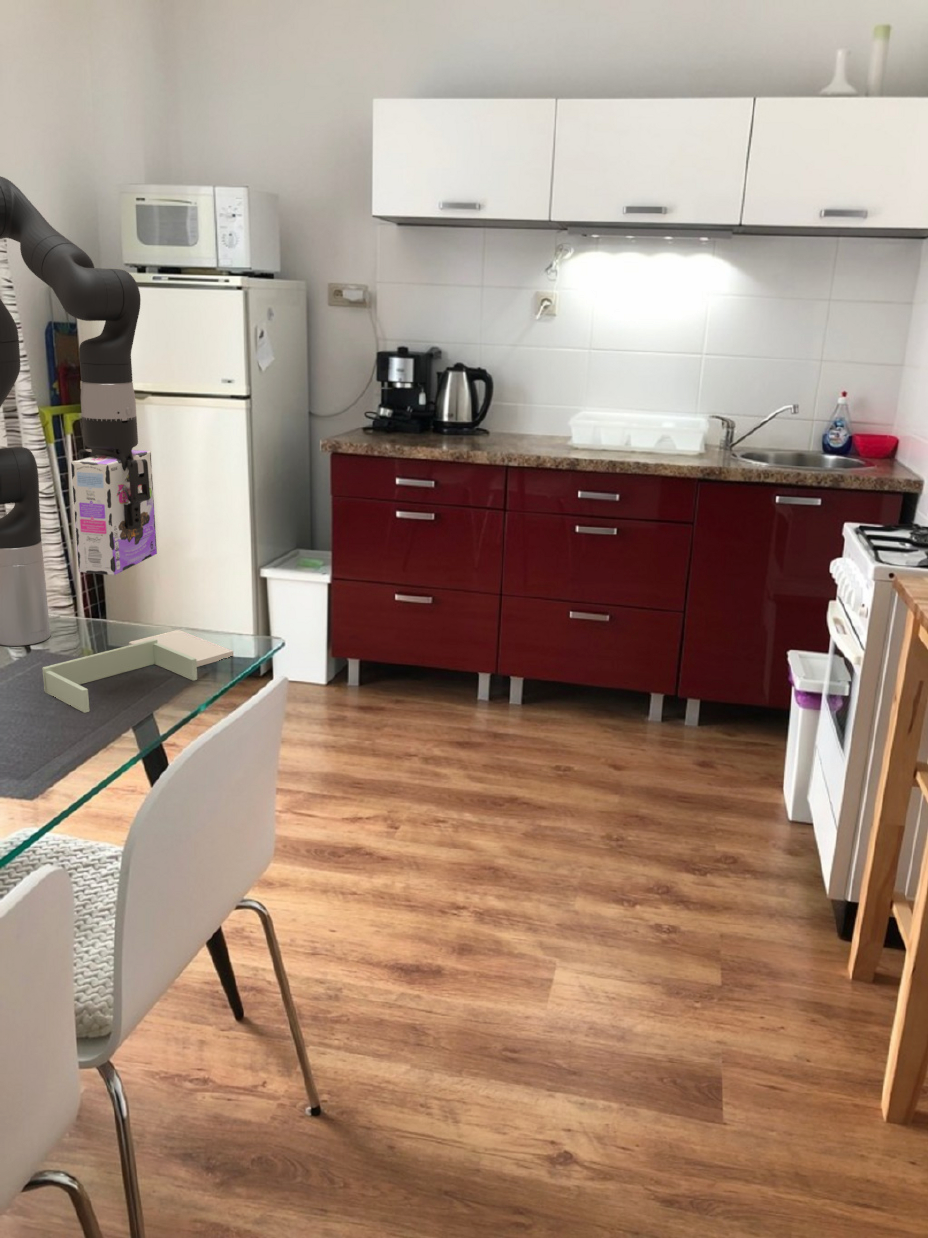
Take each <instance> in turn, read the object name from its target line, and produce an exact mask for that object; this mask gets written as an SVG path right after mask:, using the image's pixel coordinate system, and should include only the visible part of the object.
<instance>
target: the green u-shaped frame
mask: <svg viewBox="0 0 928 1238" xmlns="http://www.w3.org/2000/svg"><path fill="white" fill-rule="evenodd" d="M152 665H156V666H158V667H161V668H162V669H166V670H168V671H170V672H172V673H175V674H177V675H178V676H182V677H184V678H187V679H188V680H191V681H197V680H198V670H197V669H198V667H197V662H196V659H195V658H193V657H191V656H188V655H186V654H183V653H181V652H178V651H176V650H174V649H171V648H169V647H166V646H164V645H161V644H159V643H158V642H157V640H156V639H152V640H148V641H145V642H141V643H137V644H133V645H129V644H128V645H126V646H125V645H124V646H122V647H118V648H114V649H111V650H106V651H101V652H98V653H94V654H91V655H85V656H83V657H78V658H75V659H74V658H73V659H71V660H67V661H63V662H58V663H55V664H51V665H47V666H43V667H42V677H43V687H44V688H43V689H44V693H46V694H48V695H50V696H52V697H53V696H54V698H55V697H56V700H59V701H62V702H63V703H65V704H66V705H69V706H70V705H71V707H72V708H75V709H76V710H78V711H80V712H82V713H83V714H85V713H89V712H91V710H90V700H89V699H90V698H89V689H88V688H86V687H84V686H82V684H86V683H90V682H93V681H98V680H101V679H104V678H105V679H106V678H108V677H112V676H116V675H119V674H124V673H126V672H130V671H135V670H138V669H141V668H145V667H148V666H152Z"/></svg>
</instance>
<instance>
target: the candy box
mask: <svg viewBox="0 0 928 1238" xmlns="http://www.w3.org/2000/svg"><path fill="white" fill-rule="evenodd" d="M132 455H133V458H134V460H142V459H146V460H147V463H148V475H149V488H150V499H149V500H146V501H143V502H141V504H140V511H141V527H140V528H138V529H133V530H129V529H126V527H125V516H124V505H125V503H124V500H123V489H122V487H123V486H124V484H125V483H127V482H130V480H129V474H128V472H127V470H128V467H126V470H125V472H124V470H123V468H122V463H121V460H119V459H117V458H114V457H110V456H105V455H96V456H92V457H89V458H85V459H82V460H79V459H78V460H72V461H71V460H70V461H71V462H70V467H71V482H72V496H73V510H74V524H75V534H76V535H75V536H76V538H75V539H76V540H75V541H76V552H77V564H78V565H77V567H78V572H79V573H85V574H96V575H97V574H98V575H104V576H105V575H106V576H116V575H118V574H120V573H122V572H124V571H126V570H128V569H130V568H131V567H134V566H136V565H138V564H140V563H141V562H144V561H145V560H147V559H149V558H151V557H153V556H155V555H157V554H158V550H157V549H158V548H157V535H156V534H157V532H156V530H157V529H156V519H155V501H154V500H155V499H154V484H153V470H152V469H153V468H152V452H151V450H139V449H132ZM138 476H139V475H138ZM138 488H139V490H140V493H142V485H139V486H138ZM127 491H128V493H129V495H131V492H130V490H128V489H127Z"/></svg>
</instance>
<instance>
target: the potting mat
mask: <svg viewBox="0 0 928 1238" xmlns="http://www.w3.org/2000/svg"><path fill="white" fill-rule="evenodd" d="M152 639H156V640H157V642H158V643H159V644H161V645H164V646H166V647H169V648H171V649H174V650H176V651H178V652H181V653H183V654H186V655H188V656H191V657H193V658H195V659H196V662H197V668H198V667H201V666H204V665H205V666H206V665H209V664H212V663H215V662H219V660H220V661H222V660H221V659H223V658H227V659H229V658H228V657H230V656H233V657H234V650H231V649H229V648H226V647H223V646H222V645H219V644H216V643H213V642H211V641H209V640H206V639H204V638H201V637H198V636H195V635H193V634H190V633H189V632H185V631H182V630H180V629H175V630H172V631H167V632H164V633H160V634H159V633H158V634H156V635H151V636H148V637H144V638H140V639H135V640H132V641H129V642H128V646H129V645H133V644H137V643H141V642H145V641H148V640H152ZM230 658H231V657H230ZM223 660H224V659H223Z"/></svg>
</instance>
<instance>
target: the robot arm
mask: <svg viewBox="0 0 928 1238" xmlns="http://www.w3.org/2000/svg"><path fill="white" fill-rule="evenodd" d="M3 239H11V240H13V241H15V242H17V243H20V244H19V246H20V248H19V249H20V255H21V258H22V260H23V262H24V264H25V265H26V267H27V268H28V269H29V270H30V272H31V273H33V274H34V275H35V276H36V277H37V278H38V279H40V280H41V281H42V282H44V283H45V284H46V285H48V287H49V288H51V289H52V290H53V293H54V294H55V296H56V299H58V302H59V303H60V304H61V305H62V308H63V309H64V311H65V312H66V314H69V315H70V316H71V317H73V318H75V319H78V320H80V321H86V322H93V321H94V322H99V321H100V322H101V321H102V322H104V326H103V329H102V331H101V333H100V334H99V335H97V336H95V337H91V338H87V339H85V340H83V341H81V342H80V345H79V348H78V357H79V368H80V369H79V370H80V381H81V385H80V408H81V421H82V422H81V423H82V435H83V444H84V446H85V447H86V449H79V450H78V454H77V455H78V456H77V457H78V460H82V459H85V458H89V457H92V456H96V455H105V456H110V457H114V458H117V459H119V460H121V463H122V468H123V470H124V472H125V470H126V467H128V470H127V472H128V474H129V480H130V482H127V483H125V484H124V486H123V487H122V489H123V500H124V503H125V505H124V516H125V527H126V529H129V530H133V529H138V528H140V527H141V511H140V504H141V502H143V501H146V500H149V499H150V488H149V475H148V463H147V460H146V459H142V460H134V458H133V455H132V450H133V449H134V448H136V447H137V446H138V444H139V436H138V419H137V402H136V401H137V400H136V395H135V390H134V382H133V367H132V349H133V344H134V339H135V335H136V330H137V329H136V328H137V325H138V319H139V315H140V310H141V301H142V300H141V292H140V289H139V285H138V284H137V281H136V279H135V277H133V276H132V274H131V273H130V272H128V271H127V270H124V269H120V268H99V267H98V268H95V265H94V262H93V260H92V258H91V257H90V256H89V255H88V254H87V253H86V252H85V251H84V250H83V249H81V247H79V246H78V245H77V244H75V243H74V242H73V241H71V240H69V239H68V238H67V237H65V236H64V235H63V234H62V233H60V232H59V231H58V230H56V229H55V228H54V227H53V226H52V225H51V224H50V223H49V222H48V221H47V219H46V218H45V217H44V216H43V215H42V213H41V212H40V211H39V210H38V209H37V208H36V206H34V204H33V202H31V201H30V200H29V199H28V197H27V196H26V195H25V194H24V193H23V191H21V189H19V187H18V186H17V185H16V184H15V183H13V182H12V181H11V180H9V179H8V178H6V177H4V176H0V240H3ZM19 337H20V336H19V330H18V326H17V323H16V321H15V319H14V317H13V316H12V314H11V312H10V311H9V309H8V308H7V306H6V305H5V304H4V302H3V301H2V299H1V298H0V408H1V407H2V405H3V404H4V402H5V400H6V399H7V397H8V396H9V394H10V393H11V391H12V390H13V388H14V386H15V384H16V383H17V380H18V377H19V374H20V371H21V351H20V350H21V349H20V339H19ZM138 475H139V476H138ZM39 479H40V478H39V469H38V464H37V460H36V458H35V455H34V453H33V452H32V450H30V449H29V448H27V447H23V446H22V447H20V446H18V447H17V446H15V447H14V446H13V447H0V505H8V504H9V505H10V504H14V506H13V508H12V509H11V510H10V511H9V512H8V513H7V514H5V515H4V516H2V517H1V518H0V645H1V646H8V647H9V646H10V647H13V646H14V647H16V646H17V647H18V646H19V647H20V646H28V645H34V644H39V643H41V642H44V641H46V640H47V639H49V638H50V636H51V629H50V617H49V604H48V596H47V595H48V594H47V584H46V574H45V563H44V562H45V561H44V553H43V541H42V533H41V532H42V527H41V526H42V521H41V511H40V510H41V508H40V485H39V484H40V482H39ZM139 485H142V493H140V490H139V488H138V486H139ZM127 489H128V490H130V492H131V495H129V493H128V491H127Z"/></svg>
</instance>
